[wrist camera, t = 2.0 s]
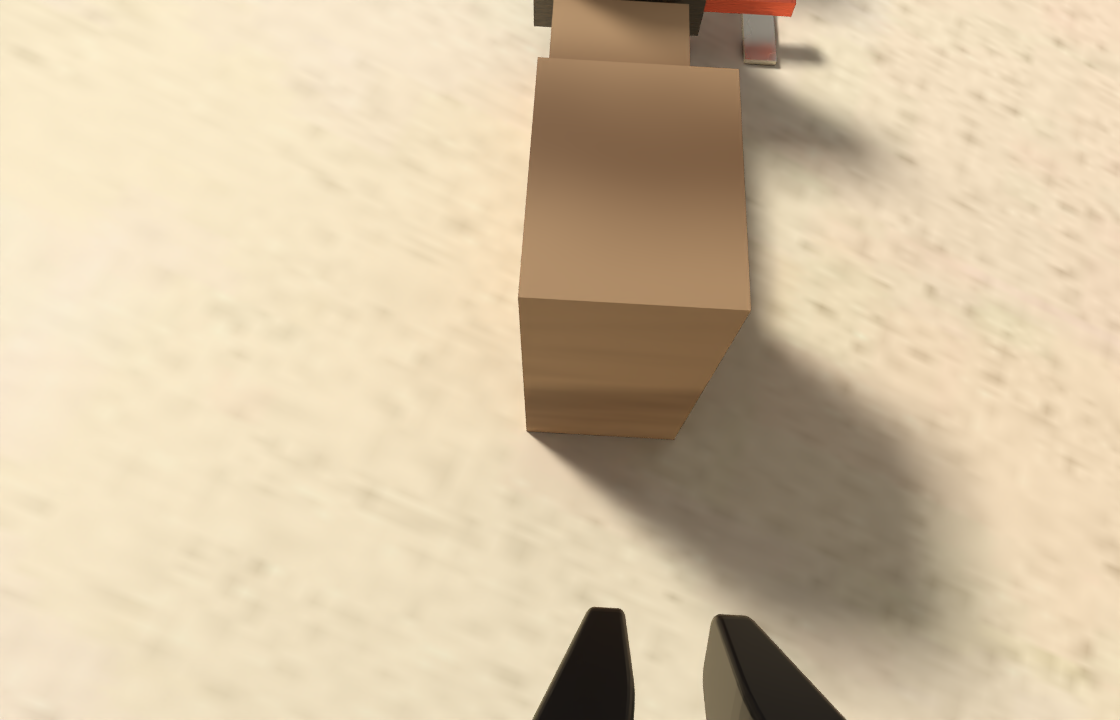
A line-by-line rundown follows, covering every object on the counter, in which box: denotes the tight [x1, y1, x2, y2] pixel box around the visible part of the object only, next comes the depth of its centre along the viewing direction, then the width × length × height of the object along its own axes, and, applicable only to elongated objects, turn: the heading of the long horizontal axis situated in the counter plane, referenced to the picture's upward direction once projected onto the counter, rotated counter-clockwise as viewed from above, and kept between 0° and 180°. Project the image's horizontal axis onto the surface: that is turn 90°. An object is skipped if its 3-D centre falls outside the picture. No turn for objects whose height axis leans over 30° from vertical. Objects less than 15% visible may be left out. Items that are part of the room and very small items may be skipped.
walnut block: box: [518, 0, 751, 440], centre depth 21 cm, size 14×4×9 cm, turn 177°
